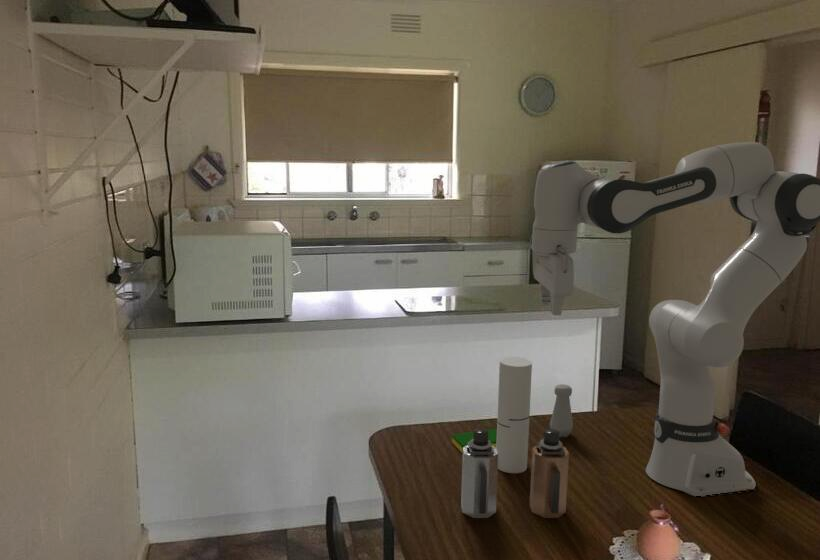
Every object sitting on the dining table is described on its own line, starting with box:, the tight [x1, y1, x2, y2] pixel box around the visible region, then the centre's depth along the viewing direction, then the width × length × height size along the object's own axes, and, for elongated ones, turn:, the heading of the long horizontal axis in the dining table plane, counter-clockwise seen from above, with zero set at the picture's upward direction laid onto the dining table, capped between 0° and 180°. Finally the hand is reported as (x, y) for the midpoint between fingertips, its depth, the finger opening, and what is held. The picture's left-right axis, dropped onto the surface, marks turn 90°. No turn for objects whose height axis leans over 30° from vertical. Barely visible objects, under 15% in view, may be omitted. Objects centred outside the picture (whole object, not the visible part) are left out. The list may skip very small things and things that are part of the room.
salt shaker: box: [549, 384, 574, 438], centre depth 170 cm, size 6×6×13 cm
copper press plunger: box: [539, 428, 563, 450], centre depth 132 cm, size 4×4×12 cm
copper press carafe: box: [529, 441, 570, 519], centre depth 132 cm, size 7×9×13 cm
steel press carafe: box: [460, 442, 499, 519], centre depth 131 cm, size 7×9×13 cm
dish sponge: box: [451, 428, 497, 454], centre depth 164 cm, size 7×14×2 cm, turn 109°
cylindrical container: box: [496, 356, 533, 474], centre depth 150 cm, size 7×7×25 cm
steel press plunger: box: [469, 428, 492, 450], centre depth 132 cm, size 4×4×12 cm
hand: (550, 309), depth 137 cm, fingers open, 8 cm apart
